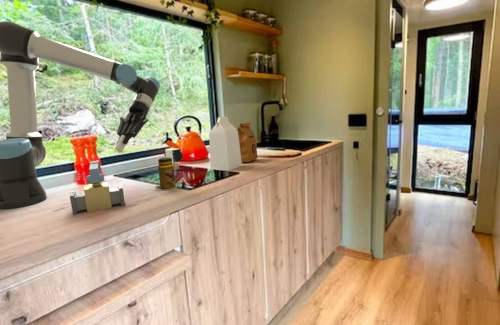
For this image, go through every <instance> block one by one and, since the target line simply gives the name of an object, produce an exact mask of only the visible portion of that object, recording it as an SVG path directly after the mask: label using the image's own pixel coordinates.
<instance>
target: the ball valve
mask: <svg viewBox="0 0 500 325" xmlns="http://www.w3.org/2000/svg"><path fill="white" fill-rule="evenodd" d="M83 191H84V192H81V193H77V192H76V190H75V191H71V192H70V195H69V199H70V206H71V210H72V215H73V216H74V215H78V213H79V211H85V210H86V211H87V213H93V212H99V211H104V210H108V209H110V210H111V209H113V208H112V207H113V206H112V205H118V204H120V205H121V207H124V206H126V201H125V195H124V188H123V184H117V187H114V188H110V186H109V182H108V181H102V182H99V183H89V184H85V185H84V188H83Z"/></svg>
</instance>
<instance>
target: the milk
mask: <svg viewBox="0 0 500 325" xmlns="http://www.w3.org/2000/svg"><path fill="white" fill-rule="evenodd" d="M229 121H230V120H229V117H228V116H219V117H217V121H216V124H215V125H214V126H213V127H212V129H211V130H210V132H209V134H208V136H209V158H210V159H209V162H210V166H209V168H210V170H213V169H216V171H226V170H228V172H229V171H232V170H234V169H237V167H238V168H241V167H243V163H242V161H241V153H240V144H239V136H238V131H237V129H238V128H237V127H235V126H234V125H233V124H232V123H231V122H229ZM240 166H241V167H240Z"/></svg>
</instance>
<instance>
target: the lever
mask: <svg viewBox="0 0 500 325" xmlns="http://www.w3.org/2000/svg"><path fill="white" fill-rule="evenodd" d="M100 166H101V164H100V160H92V161H89V175H87V176H86V182H87V184H92V183H99V182H100V183H103V182H105V176H104V173H101V167H100Z"/></svg>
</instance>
